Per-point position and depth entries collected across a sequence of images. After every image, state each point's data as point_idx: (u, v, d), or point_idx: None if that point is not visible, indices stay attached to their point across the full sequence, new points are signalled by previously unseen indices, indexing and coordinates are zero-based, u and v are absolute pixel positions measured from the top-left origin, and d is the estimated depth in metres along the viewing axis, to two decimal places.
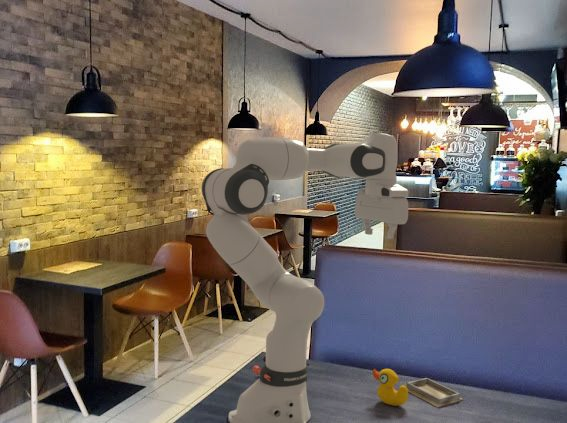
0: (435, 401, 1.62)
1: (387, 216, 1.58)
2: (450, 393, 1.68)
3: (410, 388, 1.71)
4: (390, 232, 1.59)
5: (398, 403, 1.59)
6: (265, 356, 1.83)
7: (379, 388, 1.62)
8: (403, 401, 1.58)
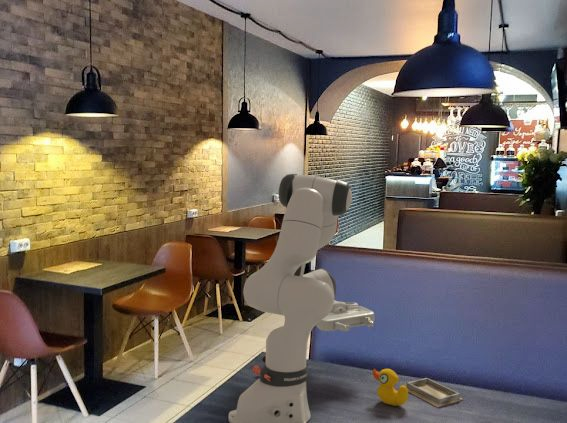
0: (435, 401, 1.62)
1: (361, 313, 1.82)
2: (450, 393, 1.68)
3: (410, 388, 1.71)
4: None
5: (398, 403, 1.59)
6: (264, 356, 1.83)
7: (379, 388, 1.62)
8: (403, 401, 1.58)
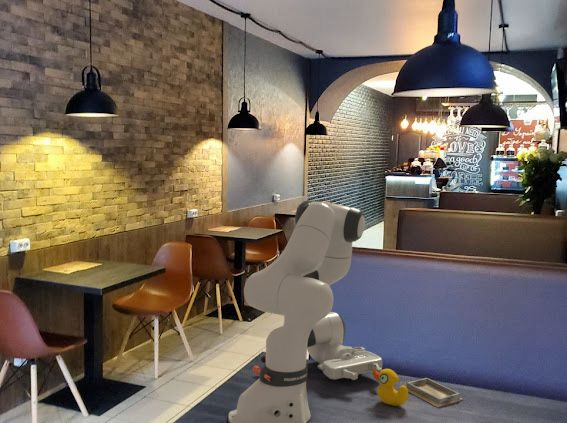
0: (435, 401, 1.62)
1: (369, 359, 1.78)
2: (450, 393, 1.68)
3: (410, 388, 1.71)
4: None
5: (398, 403, 1.59)
6: (263, 356, 1.83)
7: (379, 388, 1.62)
8: (403, 401, 1.58)
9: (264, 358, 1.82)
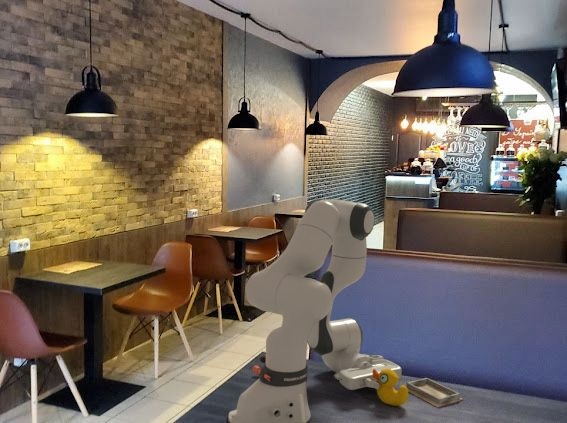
0: (435, 401, 1.62)
1: (387, 368, 1.71)
2: (450, 393, 1.68)
3: (410, 388, 1.71)
4: None
5: (398, 403, 1.59)
6: (262, 356, 1.83)
7: None
8: (403, 401, 1.58)
9: (263, 358, 1.82)
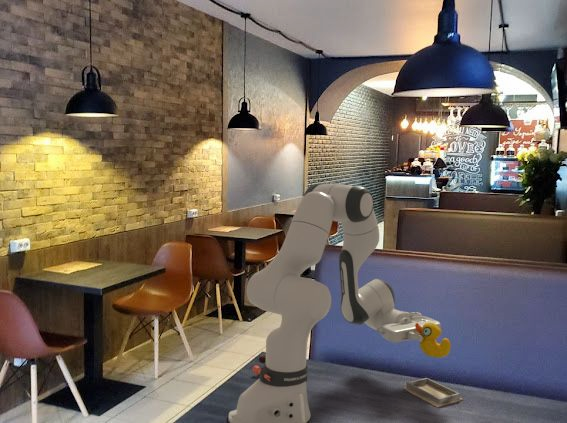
0: (435, 401, 1.62)
1: None
2: (450, 393, 1.68)
3: (410, 388, 1.71)
4: None
5: (441, 355, 1.65)
6: (260, 356, 1.83)
7: (422, 341, 1.68)
8: (446, 353, 1.64)
9: (261, 358, 1.82)
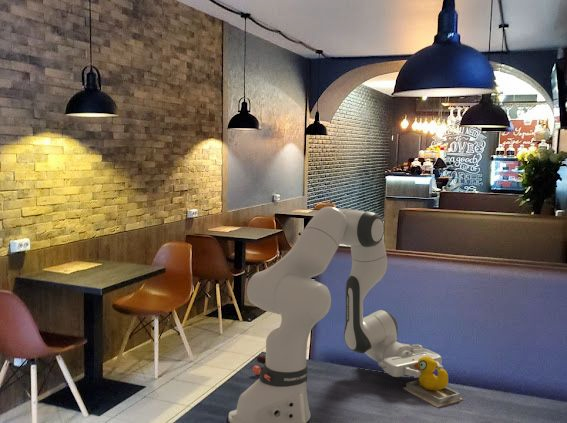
0: (435, 401, 1.62)
1: (428, 356, 1.78)
2: (450, 393, 1.68)
3: (410, 388, 1.71)
4: None
5: (440, 386, 1.67)
6: (259, 356, 1.83)
7: None
8: (444, 384, 1.67)
9: (260, 358, 1.82)
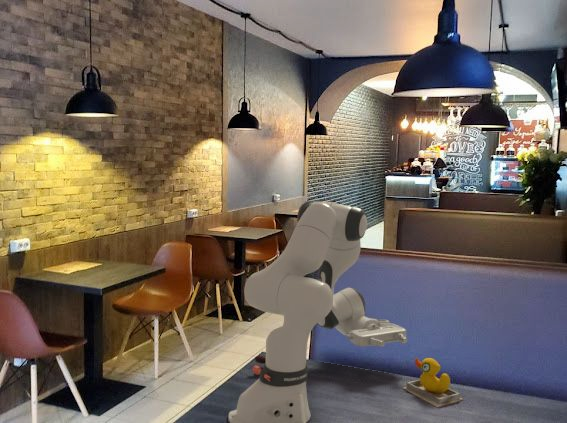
0: (435, 401, 1.62)
1: (394, 329, 1.88)
2: (450, 393, 1.68)
3: (410, 388, 1.71)
4: None
5: (440, 390, 1.67)
6: (257, 356, 1.83)
7: (422, 376, 1.71)
8: (445, 388, 1.66)
9: (258, 358, 1.82)
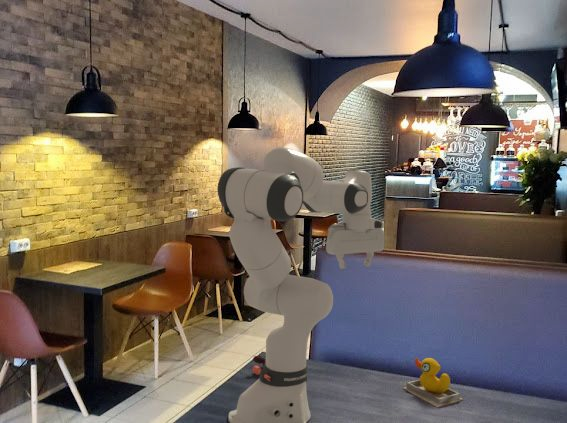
0: (435, 401, 1.62)
1: (373, 246, 1.74)
2: (450, 393, 1.68)
3: (410, 388, 1.71)
4: None
5: (440, 390, 1.67)
6: (255, 356, 1.83)
7: (422, 376, 1.71)
8: (445, 388, 1.66)
9: (256, 358, 1.82)
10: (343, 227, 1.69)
